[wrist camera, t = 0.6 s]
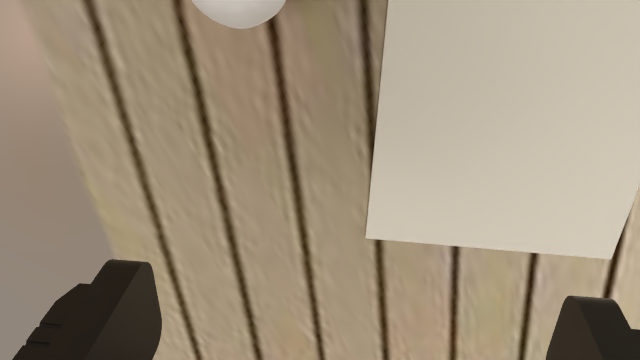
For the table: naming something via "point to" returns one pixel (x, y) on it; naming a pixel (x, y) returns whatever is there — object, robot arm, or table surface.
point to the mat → (508, 125)
